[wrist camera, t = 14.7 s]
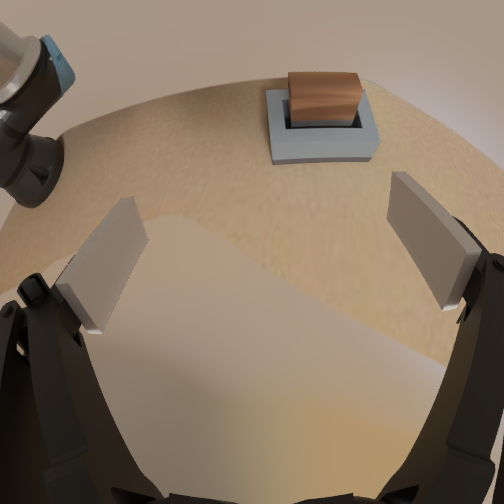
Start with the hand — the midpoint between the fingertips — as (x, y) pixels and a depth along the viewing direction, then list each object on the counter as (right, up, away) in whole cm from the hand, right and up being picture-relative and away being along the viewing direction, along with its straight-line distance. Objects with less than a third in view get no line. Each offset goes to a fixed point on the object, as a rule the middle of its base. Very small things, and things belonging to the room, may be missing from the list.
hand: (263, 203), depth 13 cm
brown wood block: (+9, +15, +23) cm, 29 cm away
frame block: (+9, +15, +25) cm, 30 cm away
